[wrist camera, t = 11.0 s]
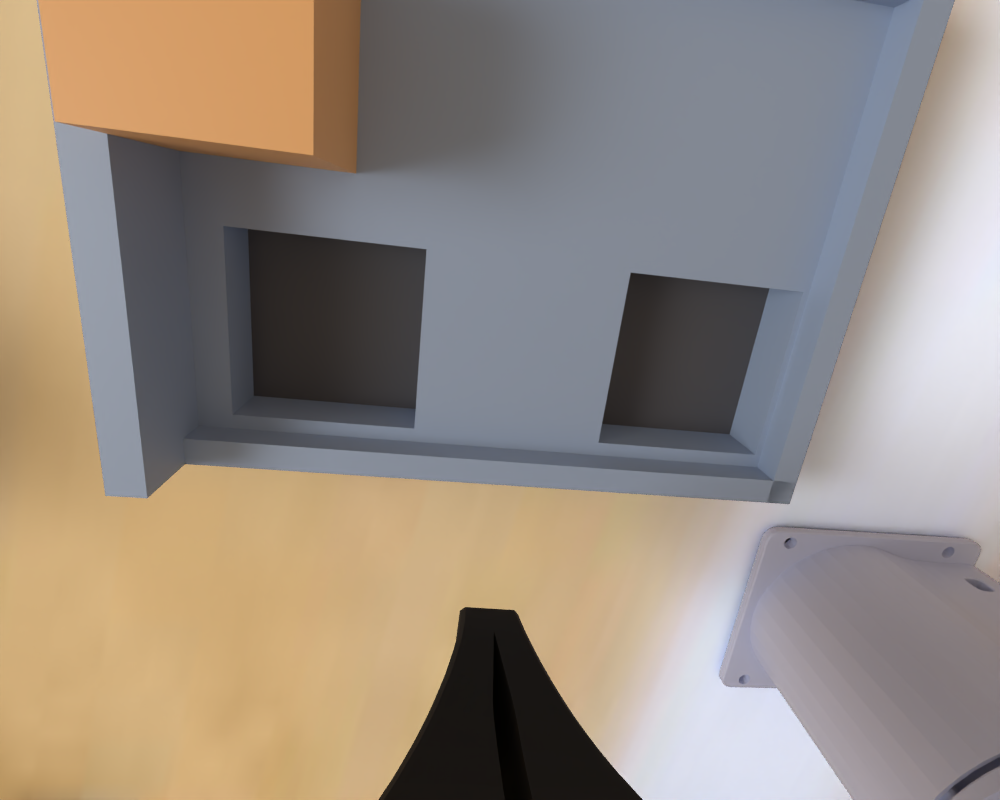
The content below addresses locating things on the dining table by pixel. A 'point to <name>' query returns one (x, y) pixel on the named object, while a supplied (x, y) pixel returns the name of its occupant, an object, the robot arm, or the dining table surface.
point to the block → (211, 75)
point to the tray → (513, 252)
